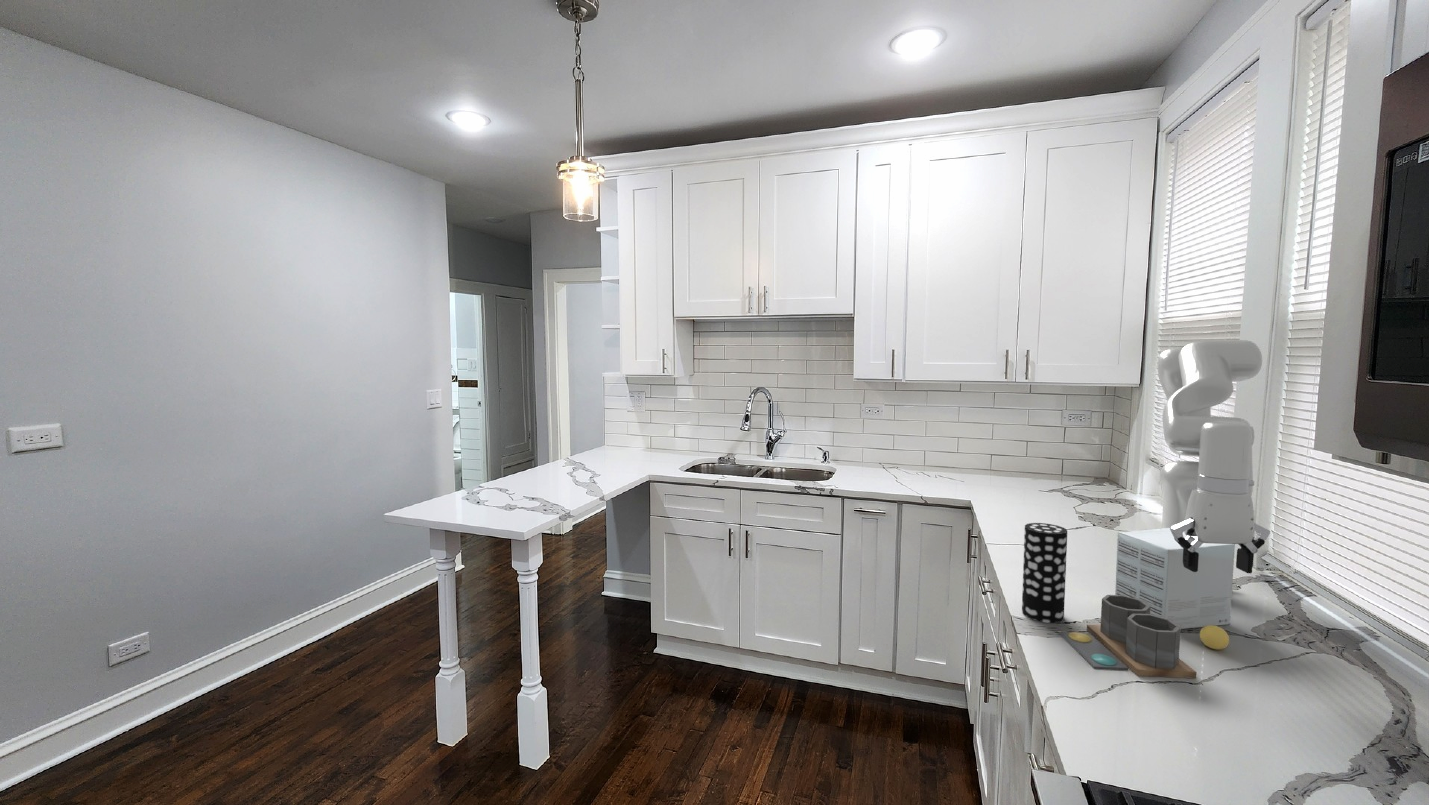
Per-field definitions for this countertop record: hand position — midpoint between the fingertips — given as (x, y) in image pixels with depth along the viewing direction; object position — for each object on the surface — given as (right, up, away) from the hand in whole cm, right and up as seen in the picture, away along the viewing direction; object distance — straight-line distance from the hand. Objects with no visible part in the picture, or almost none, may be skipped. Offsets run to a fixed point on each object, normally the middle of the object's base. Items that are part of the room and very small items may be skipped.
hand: (1216, 570), depth 117 cm
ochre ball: (0, -16, +1) cm, 16 cm away
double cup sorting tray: (-16, -16, 0) cm, 23 cm away
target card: (-24, -16, +1) cm, 29 cm away
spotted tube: (-25, -15, +17) cm, 34 cm away
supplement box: (+3, -15, +16) cm, 22 cm away
